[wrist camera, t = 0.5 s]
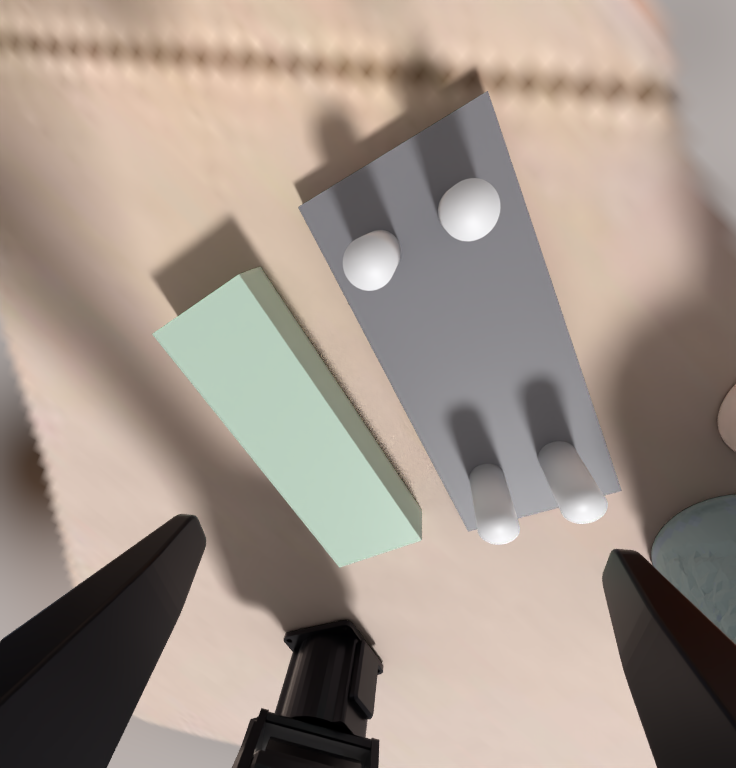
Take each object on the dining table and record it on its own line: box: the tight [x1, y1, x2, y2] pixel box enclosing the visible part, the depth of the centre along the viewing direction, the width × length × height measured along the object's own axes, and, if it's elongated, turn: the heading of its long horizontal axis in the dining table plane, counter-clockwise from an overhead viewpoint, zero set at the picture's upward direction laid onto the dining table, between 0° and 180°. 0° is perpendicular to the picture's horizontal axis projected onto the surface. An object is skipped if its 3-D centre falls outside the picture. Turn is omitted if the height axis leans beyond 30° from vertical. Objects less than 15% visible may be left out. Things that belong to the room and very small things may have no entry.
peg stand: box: [298, 91, 622, 545], centre depth 18 cm, size 9×21×5 cm, turn 28°
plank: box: [153, 267, 422, 568], centre depth 23 cm, size 6×18×3 cm, turn 31°
